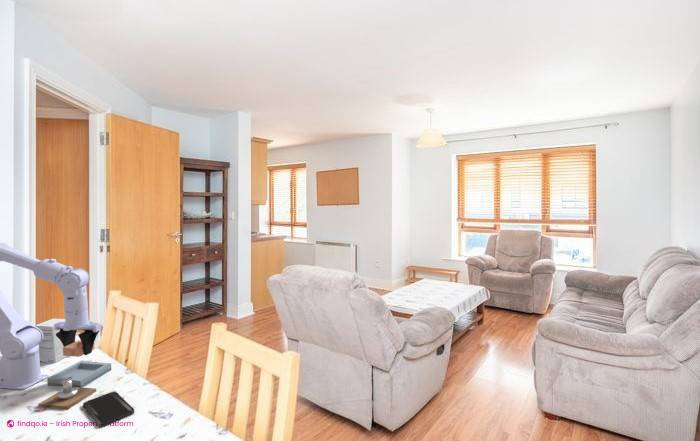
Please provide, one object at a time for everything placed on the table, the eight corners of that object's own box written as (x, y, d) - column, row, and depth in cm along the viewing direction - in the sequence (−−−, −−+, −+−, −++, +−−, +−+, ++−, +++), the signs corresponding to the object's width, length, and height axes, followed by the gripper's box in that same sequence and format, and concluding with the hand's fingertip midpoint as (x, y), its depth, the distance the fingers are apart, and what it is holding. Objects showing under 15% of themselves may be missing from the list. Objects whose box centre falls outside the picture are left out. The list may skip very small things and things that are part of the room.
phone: (114, 390, 105) (135, 410, 95) (115, 394, 105) (135, 414, 95) (81, 403, 99) (99, 425, 89) (81, 407, 99) (100, 429, 89)
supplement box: (55, 352, 132) (53, 318, 131) (74, 353, 131) (71, 318, 130) (35, 362, 125) (32, 325, 124) (54, 363, 124) (52, 326, 123)
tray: (47, 385, 109) (47, 378, 109) (80, 367, 120) (80, 361, 120) (81, 388, 108) (80, 380, 108) (111, 369, 119) (111, 363, 119)
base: (38, 406, 98) (38, 403, 98) (68, 389, 107) (68, 386, 107) (67, 409, 97) (67, 406, 97) (96, 391, 106) (96, 388, 106)
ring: (60, 357, 110) (59, 349, 110) (79, 348, 117) (78, 340, 116) (76, 358, 109) (75, 349, 109) (94, 348, 116) (94, 341, 116)
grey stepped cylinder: (53, 399, 100) (52, 382, 100) (68, 391, 105) (67, 374, 104) (68, 400, 100) (66, 383, 99) (82, 392, 104) (81, 375, 104)
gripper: (42, 312, 110) (46, 357, 111) (86, 314, 107) (89, 360, 108) (64, 305, 117) (67, 347, 118) (105, 307, 114) (108, 350, 115)
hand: (79, 353), depth 114 cm, fingers closed on ring, 5 cm apart
